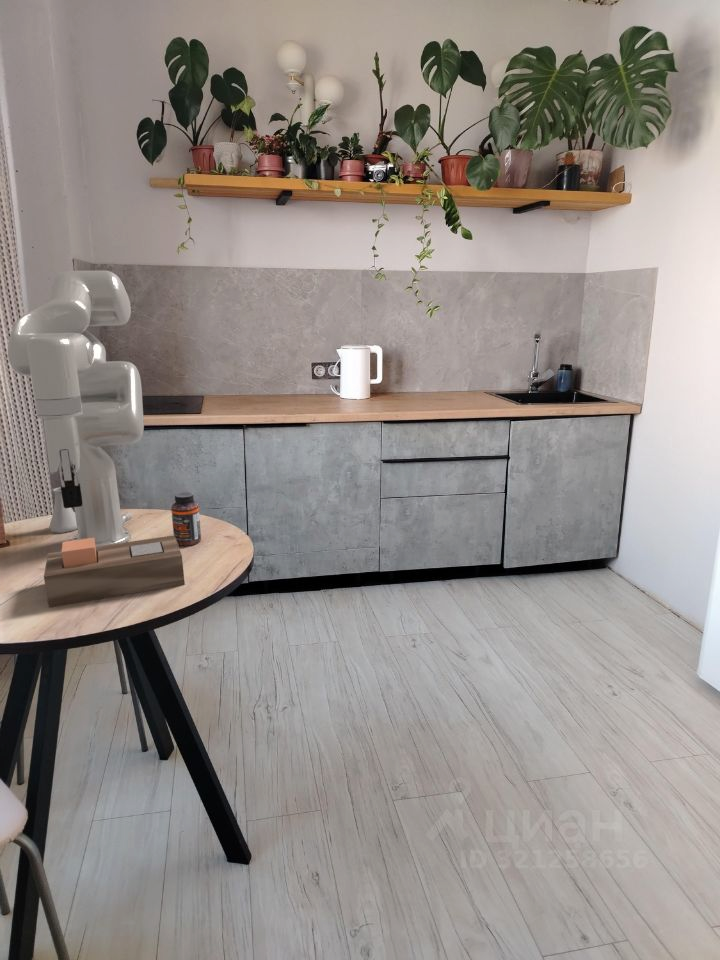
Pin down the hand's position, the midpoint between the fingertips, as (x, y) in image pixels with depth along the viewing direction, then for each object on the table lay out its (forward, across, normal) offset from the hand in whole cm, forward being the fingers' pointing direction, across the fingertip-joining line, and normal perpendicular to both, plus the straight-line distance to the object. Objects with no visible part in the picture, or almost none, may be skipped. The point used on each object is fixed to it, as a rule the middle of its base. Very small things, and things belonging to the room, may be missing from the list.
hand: (73, 505), depth 123 cm
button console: (+17, 0, +6) cm, 18 cm away
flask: (+17, -40, -4) cm, 43 cm away
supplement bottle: (+17, -17, +22) cm, 32 cm away
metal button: (+15, 0, +12) cm, 20 cm away
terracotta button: (+13, 0, 0) cm, 13 cm away
